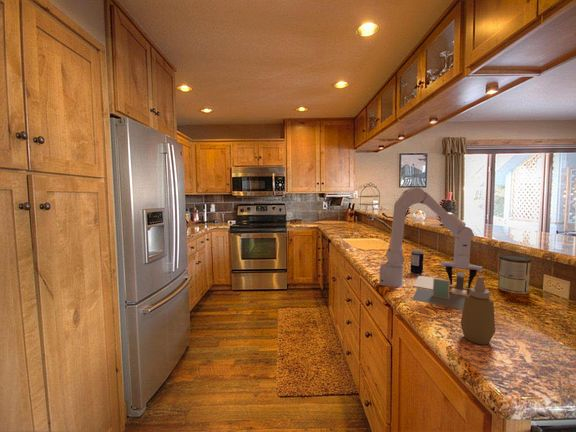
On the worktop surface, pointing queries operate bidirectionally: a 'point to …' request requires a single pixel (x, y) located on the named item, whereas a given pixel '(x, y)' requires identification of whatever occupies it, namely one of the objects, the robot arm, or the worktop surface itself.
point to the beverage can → (417, 262)
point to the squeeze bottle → (478, 314)
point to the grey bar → (459, 285)
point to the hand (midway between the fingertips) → (459, 285)
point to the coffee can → (514, 274)
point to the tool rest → (424, 282)
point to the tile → (441, 287)
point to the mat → (439, 299)
